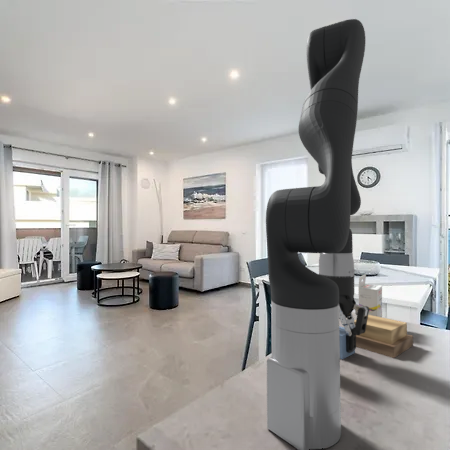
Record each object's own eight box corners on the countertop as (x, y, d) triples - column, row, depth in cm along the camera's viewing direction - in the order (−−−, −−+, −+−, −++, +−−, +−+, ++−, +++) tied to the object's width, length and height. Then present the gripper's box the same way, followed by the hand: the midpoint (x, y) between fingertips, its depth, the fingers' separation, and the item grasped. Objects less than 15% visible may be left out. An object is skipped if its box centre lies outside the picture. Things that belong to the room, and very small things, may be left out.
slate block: (342, 359, 63) (341, 335, 63) (319, 351, 67) (319, 329, 67) (355, 352, 66) (354, 330, 66) (332, 345, 70) (332, 324, 70)
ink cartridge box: (378, 334, 78) (377, 278, 79) (358, 330, 81) (357, 276, 82) (383, 325, 85) (382, 274, 86) (364, 322, 88) (363, 273, 88)
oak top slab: (391, 344, 65) (391, 330, 65) (352, 333, 72) (351, 321, 72) (407, 335, 70) (406, 322, 70) (368, 326, 77) (368, 314, 77)
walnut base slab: (393, 361, 63) (393, 347, 63) (345, 345, 72) (345, 333, 72) (413, 348, 70) (412, 335, 70) (366, 336, 79) (366, 324, 79)
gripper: (299, 270, 70) (300, 342, 70) (359, 277, 59) (360, 363, 59) (318, 268, 75) (318, 335, 74) (376, 274, 64) (377, 353, 63)
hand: (337, 347), depth 66 cm, fingers closed on slate block, 5 cm apart
